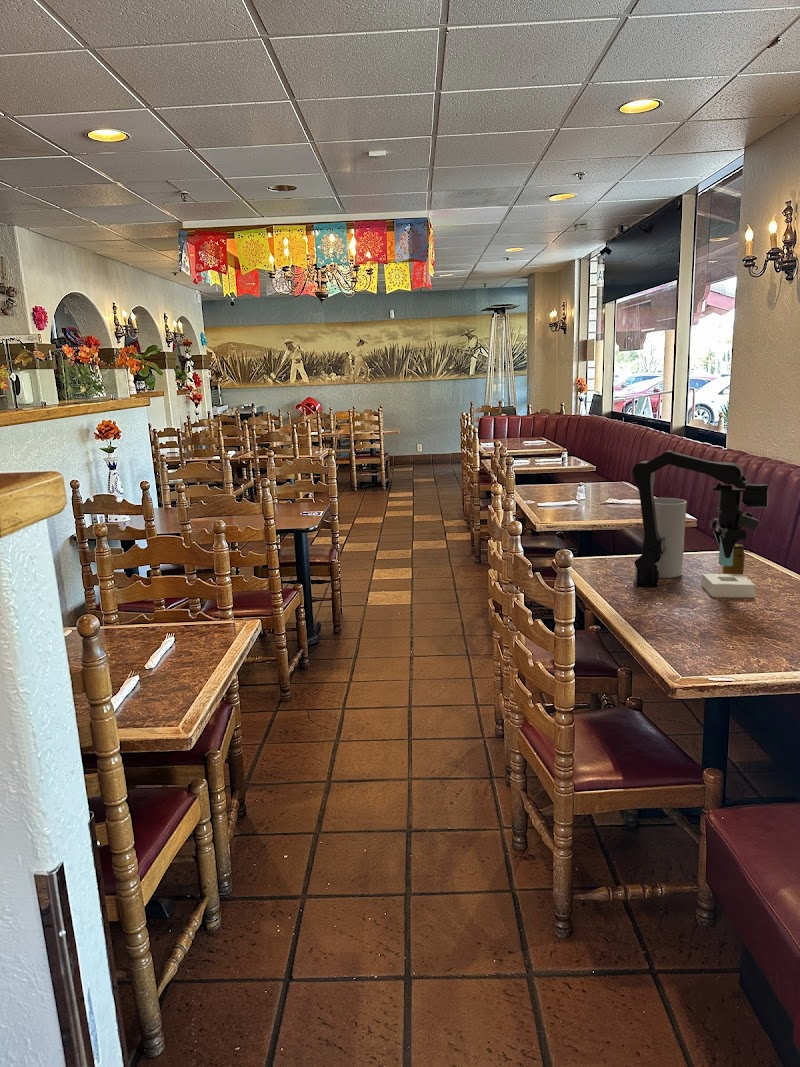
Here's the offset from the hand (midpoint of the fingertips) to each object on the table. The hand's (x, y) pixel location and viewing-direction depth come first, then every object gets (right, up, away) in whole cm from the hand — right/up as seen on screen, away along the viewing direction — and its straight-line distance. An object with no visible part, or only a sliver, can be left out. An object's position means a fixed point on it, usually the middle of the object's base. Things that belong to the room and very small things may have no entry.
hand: (726, 556), depth 222 cm
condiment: (+10, -9, +15) cm, 20 cm away
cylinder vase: (-10, -7, +25) cm, 28 cm away
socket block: (+2, -11, +4) cm, 12 cm away
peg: (0, -2, 0) cm, 2 cm away
